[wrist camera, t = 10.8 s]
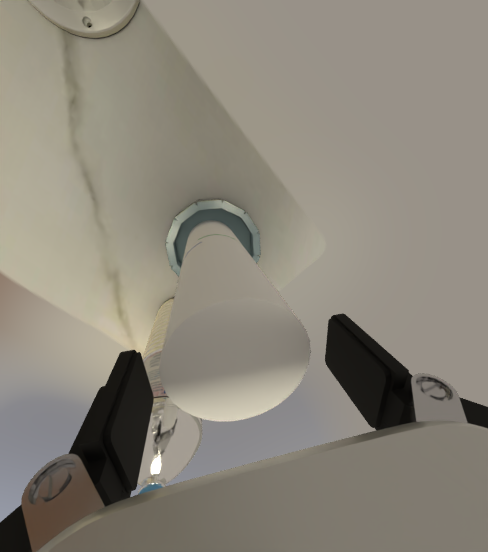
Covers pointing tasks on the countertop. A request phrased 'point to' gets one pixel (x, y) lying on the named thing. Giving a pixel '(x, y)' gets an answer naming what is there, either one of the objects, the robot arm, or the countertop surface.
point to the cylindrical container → (229, 333)
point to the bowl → (204, 212)
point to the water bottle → (165, 419)
